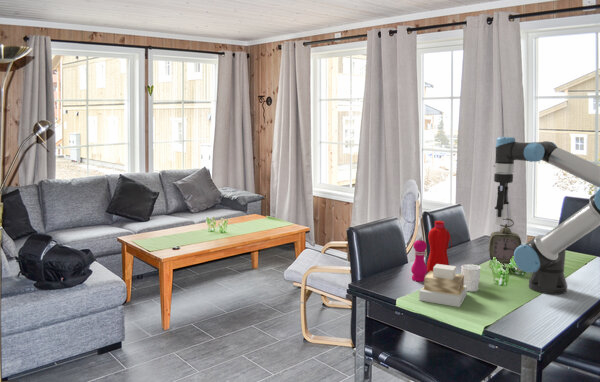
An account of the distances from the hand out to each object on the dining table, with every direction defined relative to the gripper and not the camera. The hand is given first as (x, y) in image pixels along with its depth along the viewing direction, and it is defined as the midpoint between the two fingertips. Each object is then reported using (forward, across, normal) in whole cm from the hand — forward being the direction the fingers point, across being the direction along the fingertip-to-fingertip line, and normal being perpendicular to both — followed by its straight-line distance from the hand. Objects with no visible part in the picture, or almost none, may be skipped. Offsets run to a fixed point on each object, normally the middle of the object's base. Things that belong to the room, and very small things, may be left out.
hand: (501, 221), depth 229 cm
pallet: (+25, +27, -18) cm, 41 cm away
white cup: (+29, +11, -10) cm, 32 cm away
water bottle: (+29, -7, -27) cm, 40 cm away
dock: (+29, +27, -18) cm, 43 cm away
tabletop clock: (+29, -29, 0) cm, 41 cm away
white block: (+20, +27, -18) cm, 38 cm away
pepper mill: (+29, +8, -33) cm, 45 cm away
